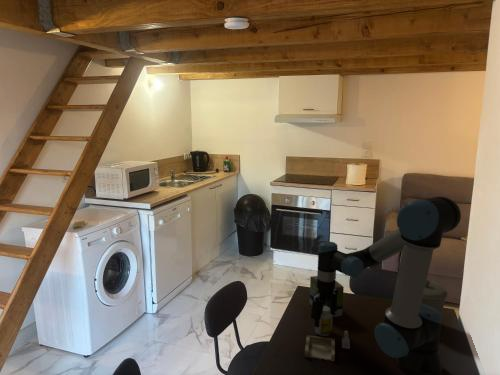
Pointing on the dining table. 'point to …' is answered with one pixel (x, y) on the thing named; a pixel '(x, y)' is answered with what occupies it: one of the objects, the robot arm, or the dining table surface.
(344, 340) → the clip
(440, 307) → the canister
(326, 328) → the pill bottle
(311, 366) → the dining table surface
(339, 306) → the tea box
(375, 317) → the dining table surface
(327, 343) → the square tray
